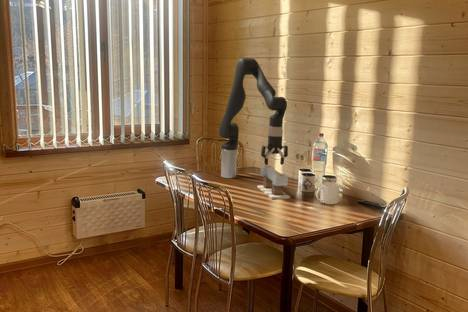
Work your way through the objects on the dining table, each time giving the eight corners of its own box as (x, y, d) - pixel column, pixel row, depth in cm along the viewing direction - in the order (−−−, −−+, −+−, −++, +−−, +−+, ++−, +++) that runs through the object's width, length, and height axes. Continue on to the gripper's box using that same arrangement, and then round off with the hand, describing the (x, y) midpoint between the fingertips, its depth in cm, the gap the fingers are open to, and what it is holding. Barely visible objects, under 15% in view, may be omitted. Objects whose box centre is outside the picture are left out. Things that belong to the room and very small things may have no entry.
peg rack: (256, 186, 257) (257, 174, 256) (273, 186, 260) (274, 174, 259) (271, 199, 233) (272, 186, 231) (290, 198, 235) (290, 185, 234)
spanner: (260, 174, 257) (260, 165, 256) (271, 174, 258) (271, 165, 258) (275, 185, 232) (276, 176, 231) (287, 185, 234) (288, 175, 233)
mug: (333, 199, 236) (335, 181, 234) (341, 204, 227) (342, 186, 226) (311, 199, 234) (312, 182, 232) (318, 205, 225) (319, 186, 223)
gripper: (285, 133, 246) (284, 163, 249) (260, 133, 242) (259, 163, 245) (290, 135, 239) (289, 166, 242) (264, 135, 235) (263, 166, 238)
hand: (273, 164), depth 244 cm, fingers open, 8 cm apart
